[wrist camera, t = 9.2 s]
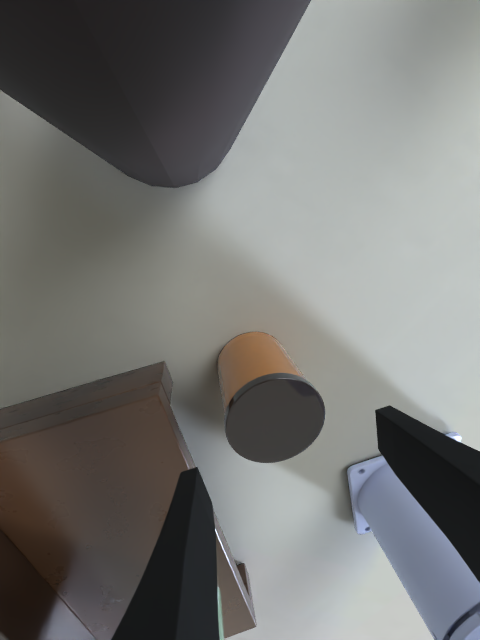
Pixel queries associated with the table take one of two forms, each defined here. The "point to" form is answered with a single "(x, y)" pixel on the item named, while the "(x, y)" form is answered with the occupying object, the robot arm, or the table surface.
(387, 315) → the table surface
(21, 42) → the vinegar
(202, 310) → the table surface
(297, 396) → the ochre jar
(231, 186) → the table surface
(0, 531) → the spice shelf
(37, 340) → the table surface
